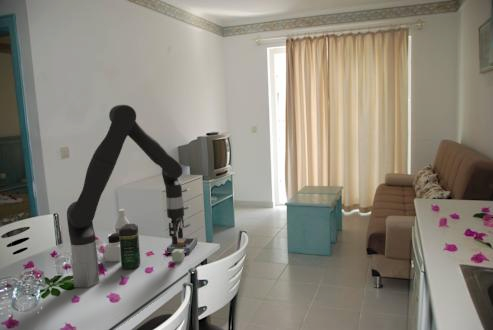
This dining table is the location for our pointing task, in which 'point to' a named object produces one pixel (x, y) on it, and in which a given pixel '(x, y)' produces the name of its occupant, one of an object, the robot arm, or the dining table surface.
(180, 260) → the sage block
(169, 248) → the tray
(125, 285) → the dining table surface
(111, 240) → the medicine bottle
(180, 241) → the walnut block
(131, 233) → the coffee jar
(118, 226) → the bath foam
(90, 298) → the dining table surface
